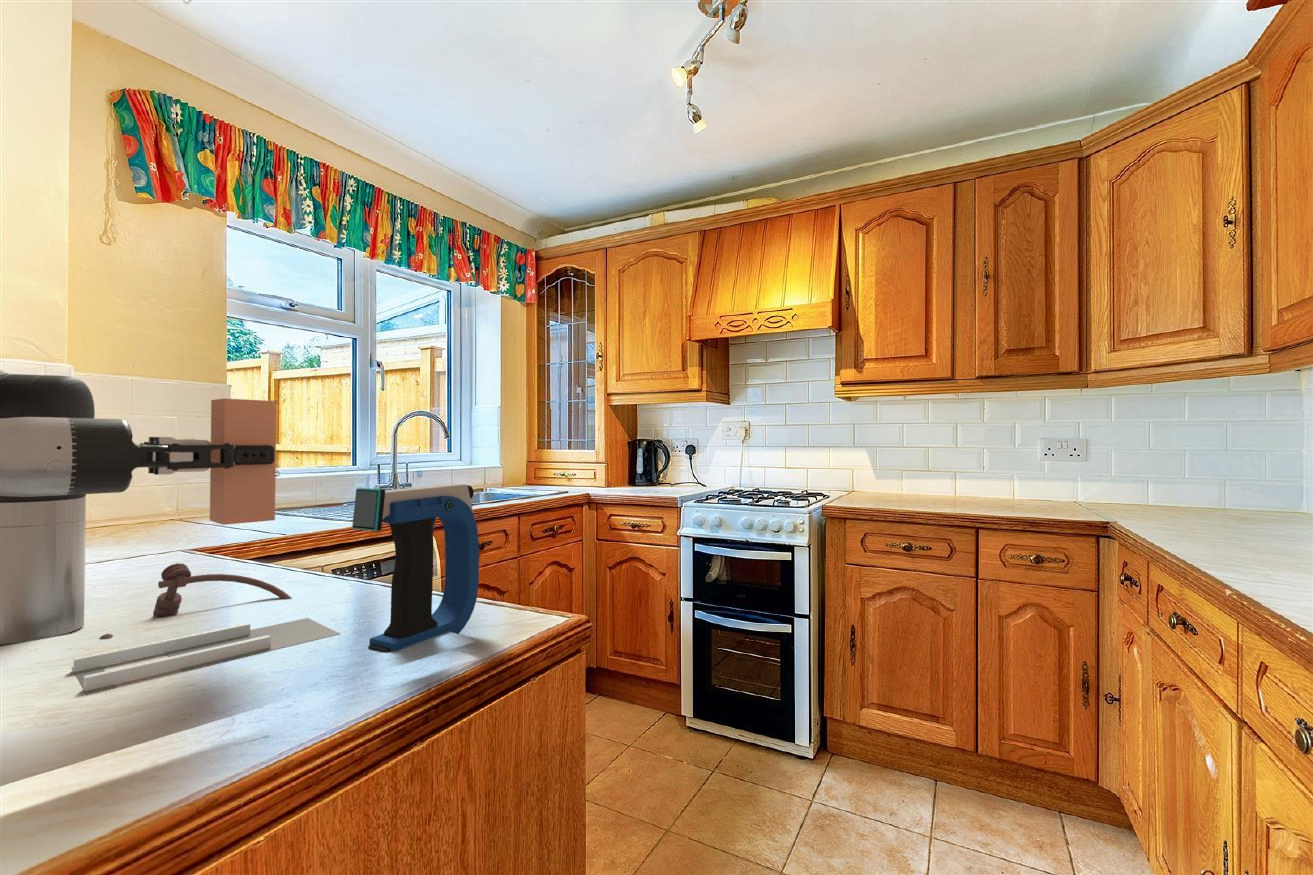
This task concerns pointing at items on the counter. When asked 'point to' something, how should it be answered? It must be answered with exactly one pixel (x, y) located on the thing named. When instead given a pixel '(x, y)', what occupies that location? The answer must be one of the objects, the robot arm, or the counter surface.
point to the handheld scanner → (424, 558)
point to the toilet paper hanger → (181, 577)
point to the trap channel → (193, 652)
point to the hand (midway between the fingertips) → (263, 454)
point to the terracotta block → (242, 486)
